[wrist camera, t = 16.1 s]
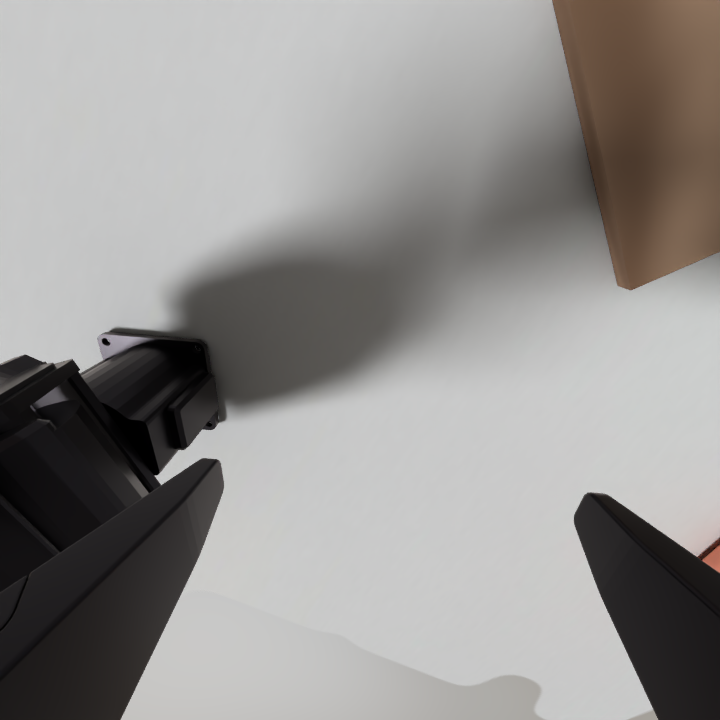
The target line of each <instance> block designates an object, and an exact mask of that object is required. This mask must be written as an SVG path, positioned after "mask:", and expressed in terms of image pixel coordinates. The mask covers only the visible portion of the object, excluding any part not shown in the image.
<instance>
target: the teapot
mask: <svg viewBox="0 0 720 720" xmlns="http://www.w3.org/2000/svg"><path fill="white" fill-rule="evenodd" d="M702 561H703V562H705V563H706V564H708V565H709V566H711V567H712V568H713V569H715V570H716V571H718V572H719V573H720V545H719V546H718V547H717V548H715V549H714V550H713V551H712V552H711V553H710V554H708V555H707V556H706V557H705V558H704V559H703V560H702Z"/></svg>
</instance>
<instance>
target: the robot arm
mask: <svg viewBox="0 0 720 720" xmlns="http://www.w3.org/2000/svg"><path fill="white" fill-rule="evenodd" d="M107 339H108V340H109V341H110V342H108V341H107ZM98 343H99V347H100V350H101V353H102V356H103V361H101V362H99V363H98V364H96V365H94V366H92V367H91V368H89V369H87V370H85V371H84V372H82V373H79V372H78V371H79V370H80V369H79V367H78V366H77V365H76V363H75V362H74V361H73V359H70V360H67V361H63V362H60V363H56V364H54V363H49V364H47V363H46V362H41V361H39V360H37V359H34V358H32V357H30V356H28V355H22V356H19V357H15V358H13V359H10V360H8V361H6V362H3V363H1V364H0V720H120V719H121V717H122V715H123V713H124V711H125V709H126V707H127V705H128V703H129V701H130V699H131V697H132V695H133V693H134V691H135V688H136V686H137V684H138V682H139V680H140V678H141V676H142V674H143V672H144V670H145V667H146V666H147V663H148V662H149V659H150V657H151V655H152V653H153V651H154V649H155V647H156V645H157V643H158V641H159V639H160V637H161V635H162V633H163V631H164V628H165V626H166V624H167V622H168V620H169V618H170V616H171V614H172V612H173V610H174V608H175V606H176V604H177V602H178V599H179V597H180V595H181V593H182V591H183V589H184V587H185V585H186V583H187V581H188V579H189V577H190V575H191V573H192V571H193V568H194V566H195V564H196V562H197V560H198V558H199V555H200V553H201V550H202V548H203V545H204V542H205V540H206V537H207V534H208V532H209V529H210V526H211V523H212V521H213V518H214V515H215V512H216V510H217V507H218V504H219V502H220V499H221V496H222V493H223V489H224V480H223V474H222V468H221V463H220V461H219V460H217V459H207V458H203V459H200V460H199V461H197V462H196V463H194V464H193V465H191V466H190V467H188V468H187V469H185V470H184V471H182V472H181V473H179V474H178V475H176V476H175V477H173V478H172V479H170V480H169V481H167V482H166V483H164V484H163V485H161V484H160V483H159V481H158V480H157V479H156V477H155V476H154V475H158V474H159V473H160V472H161V471H162V470H163V468H164V467H165V466H166V465H167V464H168V462H169V461H170V460H171V459H172V457H173V456H174V455H175V454H176V452H177V451H178V450H185V449H186V448H187V447H188V446H189V445H190V444H191V443H192V441H193V440H194V439H195V438H196V436H197V435H198V434H199V432H200V431H201V430H202V429H205V430H213V429H215V427H216V426H217V424H218V422H219V421H218V414H217V409H218V408H219V406H218V399H217V392H216V385H215V378H214V375H213V374H212V373H211V367H210V360H209V353H208V347H207V345H206V343H205V342H204V341H202V340H199V339H188V338H176V337H164V336H152V335H140V334H128V333H116V332H105V333H103V334H101V335H99V336H98ZM195 346H198V347H199V348H200V351H199V350H197V349H196V347H195ZM208 421H210V422H211V423H209V422H208ZM574 524H575V528H576V530H577V533H578V536H579V539H580V541H581V544H582V547H583V550H584V552H585V555H586V558H587V561H588V563H589V566H590V569H591V572H592V574H593V577H594V580H595V583H596V585H597V588H598V590H599V593H600V595H601V597H602V600H603V602H604V604H605V606H606V609H607V611H608V613H609V615H610V617H611V619H612V621H613V624H614V626H615V628H616V630H617V632H618V634H619V636H620V639H621V641H622V643H623V645H624V647H625V649H626V652H627V654H628V656H629V658H630V660H631V662H632V664H633V667H634V669H635V671H636V673H637V675H638V677H639V679H640V682H641V684H642V686H643V688H644V690H645V692H646V694H647V697H648V699H649V701H650V703H651V705H652V707H653V710H654V711H655V714H656V716H657V718H658V720H720V573H719V572H718V571H716V570H715V569H713V568H712V567H711V566H709V565H708V564H706V563H705V562H703V561H702V560H700V559H699V558H698V557H696V556H695V555H693V554H692V553H690V552H689V551H688V550H686V549H685V548H683V547H682V546H680V545H679V544H678V543H676V542H675V541H673V540H672V539H670V538H669V537H667V536H666V535H665V534H663V533H662V532H660V531H659V530H657V529H656V528H655V527H653V526H652V525H650V524H649V523H647V522H646V521H645V520H643V519H642V518H640V517H639V516H637V515H636V514H634V513H633V512H632V511H630V510H629V509H627V508H626V507H624V506H623V505H622V504H620V503H619V502H617V501H616V500H614V499H613V498H612V497H610V496H608V495H606V494H603V493H591V492H590V493H587V494H585V495H584V497H583V499H582V501H581V503H580V505H579V507H578V509H577V511H576V512H575V515H574Z"/></svg>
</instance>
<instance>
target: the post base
mask: <svg viewBox="0 0 720 720" xmlns="http://www.w3.org/2000/svg"><path fill="white" fill-rule="evenodd" d="M552 1H553V5H554V10H555V14H556V18H557V23H558V27H559V32H560V36H561V40H562V45H563V49H564V53H565V58H566V62H567V66H568V71H569V75H570V80H571V84H572V88H573V93H574V97H575V101H576V106H577V110H578V114H579V119H580V123H581V127H582V132H583V136H584V141H585V145H586V149H587V154H588V158H589V162H590V167H591V171H592V175H593V180H594V184H595V189H596V193H597V197H598V202H599V206H600V210H601V215H602V219H603V223H604V228H605V232H606V237H607V241H608V245H609V250H610V254H611V258H612V263H613V267H614V271H615V276H616V280H617V285H618V286H620V287H623V288H626V289H629V290H633V289H635V288H637V287H640V286H642V285H644V284H647V283H649V282H651V281H653V280H656V279H658V278H660V277H663V276H665V275H667V274H669V273H672V272H674V271H676V270H679V269H681V268H683V267H685V266H688V265H690V264H692V263H695V262H697V261H699V260H701V259H704V258H706V257H708V256H711V255H713V254H715V253H717V252H720V0H552Z"/></svg>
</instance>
